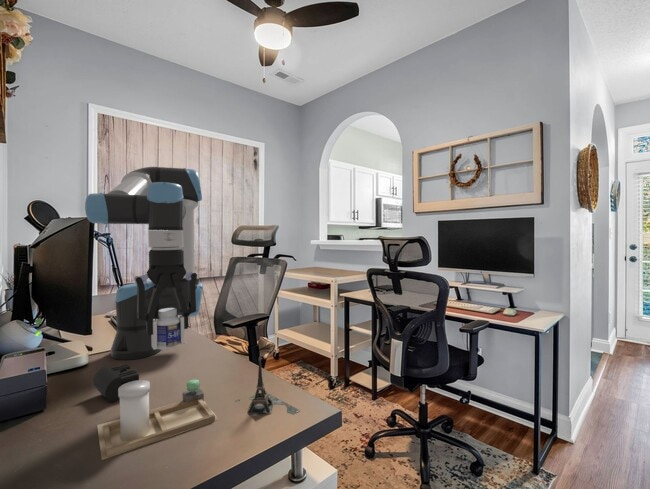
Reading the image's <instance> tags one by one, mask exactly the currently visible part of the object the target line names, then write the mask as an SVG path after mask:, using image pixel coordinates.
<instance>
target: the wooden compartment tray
mask: <svg viewBox="0 0 650 489" xmlns="http://www.w3.org/2000/svg"><path fill="white" fill-rule="evenodd" d="M204 393H205V392H204V391H202V390H201V388H200V387H199V389H198V390H195V393H194V394H191V391H188V390H183V391H182V400H180V401H177V402H173V403H169V404H165V405H163V406H159V407H155V408H153V409H152V408H151V409H149V429H150V430H149V433H148V434H147V435H146V436H144V437H142V438H139V439H136V440H133V441H128V442H127V441H122V440H121V438H120V418H117V419H114V420H110V421H107V422H103V423H100V424H99V423H98V424H97V425H96V426H97V434H98V442H99V448H100V449H99V450H100V457H101V458H100V459H101V460H102V461H104V460H106V459H109V458H112V457H114V456H118V455H120V454H121V455H122V454H124V453H126V452H129V451H133V450H135V449H138V448H141V447H144V446H148V445H149V444H150V445H151V444H153V443H155V442H158V441H161V440H165V439H167V438H168V439H169V438H171V437H173V436H175V435H179V434H182V433H185V432H188V431H191V430H194V429H196V428H197V429H198V428H200V427H203V426H206V425H209V424H211V423H214V422H217V421H219V420H220V419H219V418H218V416H217V415H216V414H215V412H214V411H213V410H212V409H211V408H210V406H209V405H208V403H206V401H205V400H204V399H205V398H204V397H205V394H204Z"/></svg>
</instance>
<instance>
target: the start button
mask: <svg viewBox="0 0 650 489" xmlns="http://www.w3.org/2000/svg"><path fill="white" fill-rule="evenodd" d="M199 388H200V380H199V379H191V380H187V382H186V391H191V394H194V393H195V390H198V389H199Z"/></svg>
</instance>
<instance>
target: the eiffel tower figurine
mask: <svg viewBox="0 0 650 489" xmlns="http://www.w3.org/2000/svg"><path fill="white" fill-rule="evenodd" d="M257 375H258V376H257V385H256V391H255V393H254V394H253V395H252V396H250V397H249V400H251V402H250V403H249V407H248V409H247V412H246V413H247V415H248V416H256V415H257V416H258V415H261V416H262V415H266V416H267V415H272V412H273V409H274V406H276V405H277V406H282V405H283V406H285V407H286V414H289V415H296V414H298V412H300V411H301V410H300V409H298V408H296V407H295V406H292V405H291V404H288V402H285V401H283V400H282V399H279V398H277V397H275V396H273V395H272V394H270V393H268V392H266V389H265V384H264V381H263V380H264V379H263V372H262V356H261V355H259V357H258V374H257ZM240 400H241V399H240V398H239V399H236V400H234V402H236V403H237V402H241V401H240Z"/></svg>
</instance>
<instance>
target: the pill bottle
mask: <svg viewBox="0 0 650 489" xmlns="http://www.w3.org/2000/svg"><path fill="white" fill-rule="evenodd" d="M158 315H159V317H160V319H156V321H157V349H161V351H162V350H163V351H165V350H172V349H176V348H178V347H179V346H180V345H181V344H180V320H179V318H178V317H176V315H177V309H176V308H165V309H161V310H159V311H158Z"/></svg>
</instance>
